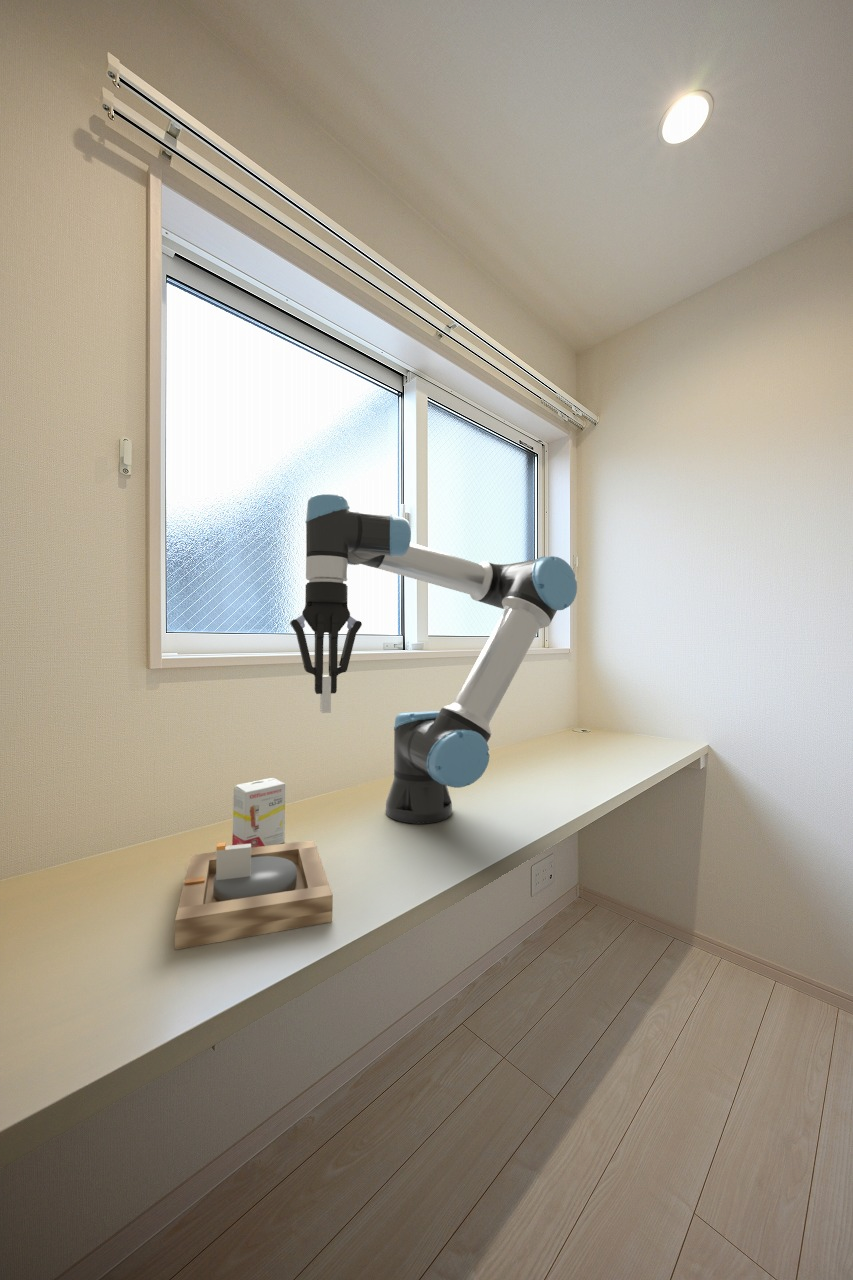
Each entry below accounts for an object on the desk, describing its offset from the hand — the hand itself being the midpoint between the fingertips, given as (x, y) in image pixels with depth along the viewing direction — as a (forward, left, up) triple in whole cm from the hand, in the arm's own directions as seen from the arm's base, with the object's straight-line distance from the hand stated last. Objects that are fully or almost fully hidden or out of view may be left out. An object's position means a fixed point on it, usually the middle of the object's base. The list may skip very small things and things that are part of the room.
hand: (325, 711), depth 92 cm
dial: (+12, +12, -25) cm, 30 cm away
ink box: (+11, -8, -27) cm, 30 cm away
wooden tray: (+12, +12, -26) cm, 31 cm away
